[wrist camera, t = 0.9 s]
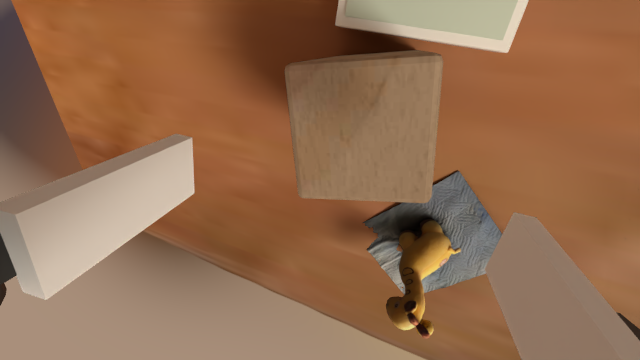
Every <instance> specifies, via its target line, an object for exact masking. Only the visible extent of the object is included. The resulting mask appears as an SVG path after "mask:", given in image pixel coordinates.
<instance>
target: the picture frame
mask: <svg viewBox="0 0 640 360" xmlns="http://www.w3.org/2000/svg"><path fill="white" fill-rule="evenodd" d="M528 1H529V0H339V2H338V9H337V15H336V22H335V25H336V26H339V27H343V28H349V29H355V30H361V31H367V32H374V33H380V34H386V35H392V36H399V37H405V38H411V39H417V40H424V41H430V42H436V43H442V44H448V45H455V46H461V47H467V48H473V49H480V50H486V51H492V52H501V53H508V51H509V48H510V46H511V43H512V41H513V38H514V36H515V33H516V31H517V28H518V26H519V23H520V21H521V18H522V16H523V13H524V11H525V8H526V6H527V3H528Z"/></svg>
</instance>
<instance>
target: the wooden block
mask: <svg viewBox="0 0 640 360" xmlns="http://www.w3.org/2000/svg"><path fill="white" fill-rule="evenodd" d="M442 70H443V59H442V56H441V55H440V54H437V53H433V52H426V51H418V50H410V51H397V52H383V53H370V54H356V55H343V56H334V57H328V58H321V59H315V60H308V61H301V62H295V63H290V64H288V65H286V67H285V71H284V72H285V81H286V90H287V99H288V108H289V116H290V125H291V134H292V143H293V152H294V161H295V170H296V179H297V188H298V194H299V196H300V197H302V198H315V199H339V200H362V201H385V202H409V203H427V202H429V200H430V198H431V196H432V184H433V173H434V161H435V150H436V139H437V127H438V116H439V104H440V93H441V82H442Z"/></svg>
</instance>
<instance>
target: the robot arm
mask: <svg viewBox="0 0 640 360" xmlns="http://www.w3.org/2000/svg"><path fill="white" fill-rule="evenodd" d="M194 193H195V192H194V169H193V146H192V137H188V136H184V135H179V134H174V135H172V136H169V137H167V138H164V139H162V140H159V141H156V142H154V143H151V144H149V145H146V146H144V147H141V148H138V149H136V150H133V151H131V152H128V153H126V154H123V155H120V156H118V157H115V158H113V159H110V160H108V161H105V162H102V163H100V164H97V165H95V166H92V167H90V168H87V169H84V170H82V171H79V172H77V173H74V174H72V175H69V176H67V177H64V178H61V179H59V180H57V181H54V182H51V183H48V184H46V185H43V186H41V187H38V188H36V189H33V190H30V191H28V192H25V193H23V194H20V195H18V196H15V197H12V198H10V199H7V200H5V201H2V202H0V305H1V303H2V301H3V299H4V297H5V295H6V287H5V284H4V282H6V281H8V280H9V279H11V278H13V277H14V276H17V278H18V281H19V284H20V286H21V289H22V291H23V292H24V293H27V294H30V295H33V296H36V297H39V298H42V299H45V300H47V299H48V298H50V297H51V296H52V295H54V294H55V293H56V292H58V291H59V290H61V289H62V288H63V287H65V286H66V285H68V284H69V283H70V282H72V281H73V280H74V279H76V278H77V277H78V276H80V275H81V274H83V273H84V272H86V271H87V270H88V269H90V268H91V267H93V266H94V265H95V264H97V263H98V262H100V261H101V260H102V259H104V258H105V257H106V256H108V255H109V254H111V253H112V252H113V251H115V250H116V249H118V248H119V247H120V246H122V245H123V244H125V243H126V242H127V241H129V240H130V239H131V238H133V237H134V236H136V235H137V234H138V233H139V232H141V231H143V230H144V229H145V228H147V227H148V226H150V225H151V224H152V223H154V222H155V221H156V220H158V219H159V218H161V217H162V216H163V215H165V214H166V213H168V212H169V211H170V210H172V209H173V208H175V207H176V206H177V205H179V204H180V203H181V202H183V201H184V200H186V199H187V198H188V197H190V196H191V195H193V194H194ZM485 271H486V274H487V276H488V279H489V281H490V284H491V286H492V288H493V291H494V293H495V296H496V298H497V301H498V303H499V306H500V308H501V311H502V313H503V315H504V318H505V320H506V323H507V325H508V328H509V330H510V333H511V335H512V338H513V340H514V342H515V345H516V347H517V350H518V352H519V355H520V357H521V360H640V329H639V328H637V327H636V326H635V325H634V324H632V323H631V322H630V321H629V320H628V319H626V318H625V317H624V316H623V315H621V314H620V313H617V312H615V311H614V310H613V308H612V307H611V306H610V305H609V304H608V302H607V301H606V300H605V299H604V298H603V296H602V295H601V294H600V293H599V292H598V291H597V289H596V288H595V287H594V286H593V285H592V283H591V282H590V281H589V280H588V279H587V277H586V276H585V275H584V274H583V273H582V271H581V270H580V269H579V268H578V267H577V265H576V264H575V263H574V262H573V261H572V260H571V258H570V257H569V256H568V255H567V254H566V252H565V251H564V250H563V249H562V248H561V246H560V245H559V244H558V243H557V242H556V240H555V239H554V238H553V237H552V236H551V234H550V233H549V232H548V231H547V230H546V229H545V227H544V226H543V225H542V224H541V223H540V221H539V220H538V219H537V218H536V217H532V216H528V215H524V214H519V213H515V212H514V213H513V215H512V217H511V219H510V221H509V223H508V225H507V227H506V229H505V231H504V232H503V234H502V236H501V238H500V240H499V242H498V244H497V246H496V248H495V250H494V252H493V254H492V256H491V258H490V260H489V262H488V263H487V265H486V267H485Z"/></svg>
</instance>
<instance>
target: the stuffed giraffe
mask: <svg viewBox="0 0 640 360" xmlns="http://www.w3.org/2000/svg"><path fill="white" fill-rule="evenodd" d="M363 223H365V226H368V227H369V228H371V227H373V230H374V231H373V232H374V233H378V237H379V238H377V239H376V240H375V241H374V242H373V243H372V244H371V245H370V247H369V248H367V250H368V252H370V253H371V254H372V256H373V257H374V258H375V259H376V261H378V263H379V265H380V266H381V267H382V268H383V269H384V270H385V271H386V273H387V274H388V275H389V277H390V278H391V279H392V281H393V282H394V283H395V284H396V285H397V286H398V287H399V289H400V290H401V291H403V293H404V296H403V297H391V298H389V299H388V300H387V304H386V309H387V313H388V316H389V318H390V319H391V320H392V322H393V324H394V325H395V326H396V327H398V328H399V329H402V330H409V329H411V328H414V327H416V328H417V332H418V334H419V335H420V336H422V337H423V338H429V336H430V335H431V334H432V333H433V330H434V326H433V324H432V323H431V322H430V321H428V320H423V319H422V315H423V313H424V310H425V298H424V293H425V292H429V291H432V290H436V289H440V288H445V287H447V286H450V285H453V284H455V283H458V282H461V281H464V280H468V279H471V278H474V277H476V276H479V275H482V274H485V273H486V271H485V267H486V265H487V263H488V262H489V260H490V258H491V256H492V254H493V252H494V250H495V248H496V246H497V244H498V242H499V240H500V238H501V236H502V233H501V232H500V230H499V229H498V227H497V226H496V224H495V223H494V222H493V220H492V219H491V217H490V216H489V214H488V213H487V211H486V210H485V208H484V207H483V205H482V204H481V203H480V201H479V200H478V198H477V197H476V195H475V194H474V192H473V191H472V189H471V188H470V186H469V185H468V184H467V182H466V181H465V179H464V178H463V176H462V175H461V173H460V172H459V171H458V172H456V173H454V174H453V175H451V176H449V177H447V178H446V179H444V180H442V181H441V182H439V183H437V184H435V185H433V186H432V196H431V198H430V200H429V202H427V203H409V202H403V203H401V204H399V205H397V206H395V207H393V208H391V209H390V210H388V211H385V212H383V213H382V214H380V215H378V216H376V217H374V218H372V219H370V220H368V221H365V222H363ZM399 243H400V246H401V247H402V248H403V251H402V252H400V251H397V250H396V248H397V247H398V245H399ZM401 287H403V289H401Z"/></svg>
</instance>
